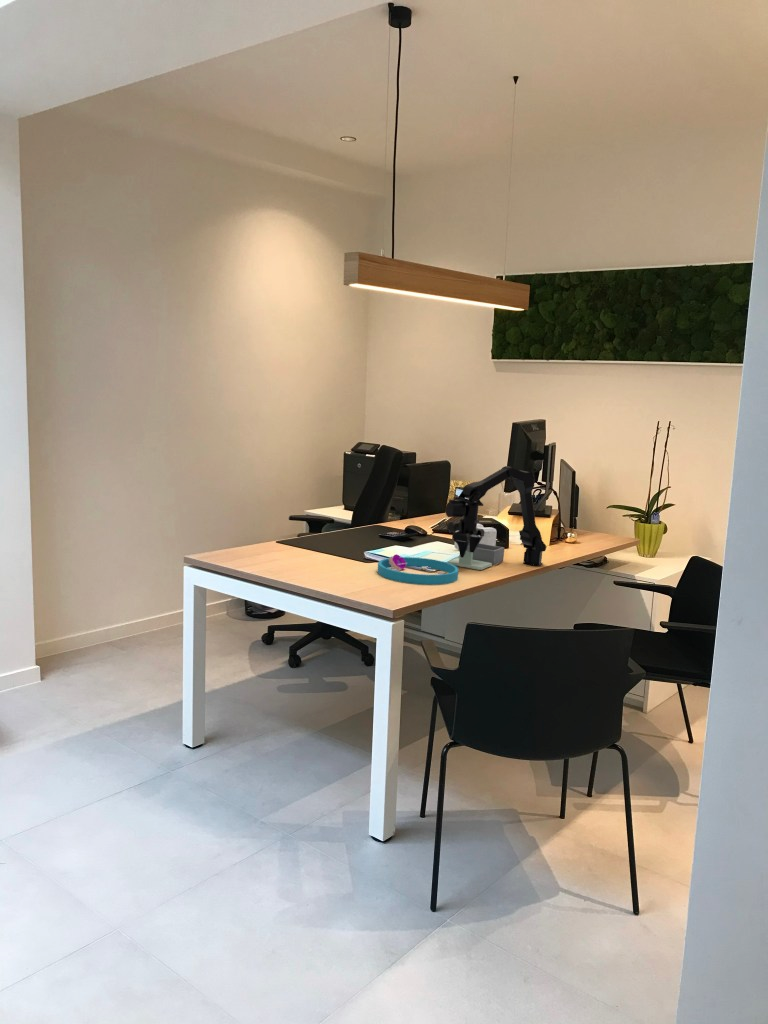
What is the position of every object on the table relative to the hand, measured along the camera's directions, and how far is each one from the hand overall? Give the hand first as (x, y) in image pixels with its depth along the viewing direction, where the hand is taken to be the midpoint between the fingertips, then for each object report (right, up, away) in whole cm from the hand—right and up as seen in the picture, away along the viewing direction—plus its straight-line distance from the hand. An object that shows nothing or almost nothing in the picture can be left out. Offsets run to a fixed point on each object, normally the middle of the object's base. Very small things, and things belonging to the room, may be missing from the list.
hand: (466, 555), depth 326 cm
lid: (+2, -5, +4) cm, 7 cm away
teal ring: (-20, -7, -18) cm, 28 cm away
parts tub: (+8, -3, +16) cm, 18 cm away
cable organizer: (+7, 0, +34) cm, 34 cm away
